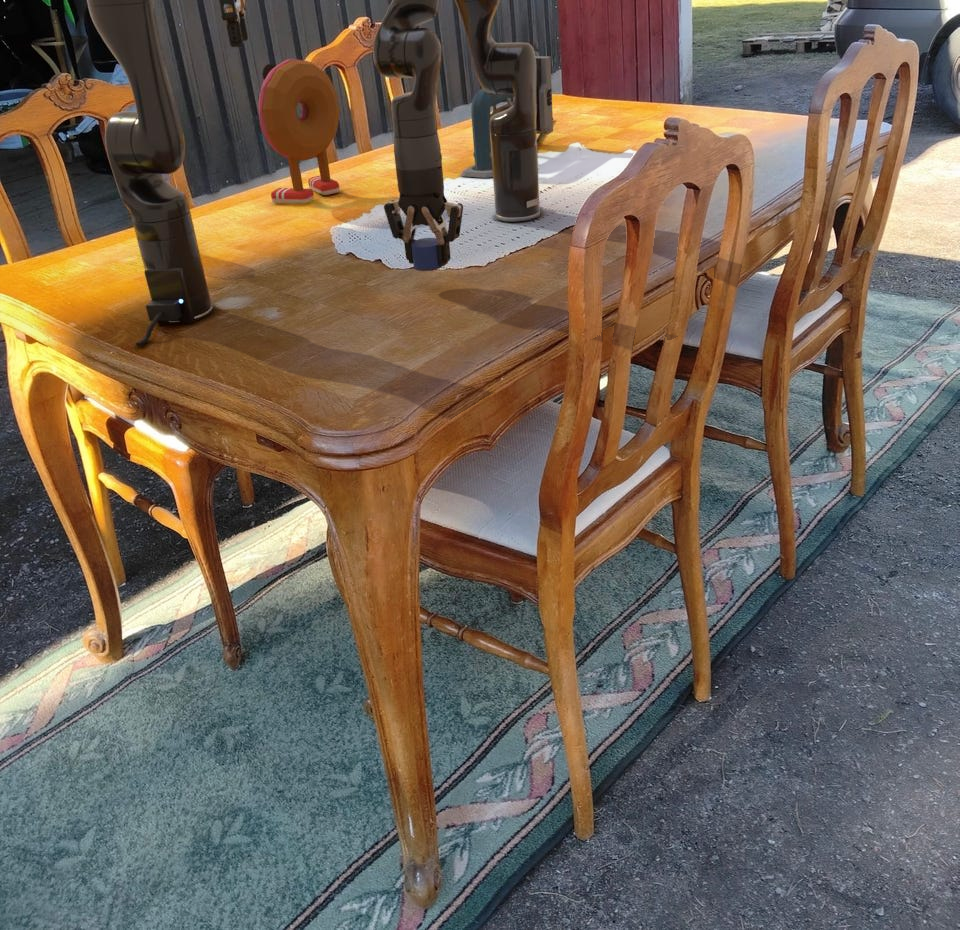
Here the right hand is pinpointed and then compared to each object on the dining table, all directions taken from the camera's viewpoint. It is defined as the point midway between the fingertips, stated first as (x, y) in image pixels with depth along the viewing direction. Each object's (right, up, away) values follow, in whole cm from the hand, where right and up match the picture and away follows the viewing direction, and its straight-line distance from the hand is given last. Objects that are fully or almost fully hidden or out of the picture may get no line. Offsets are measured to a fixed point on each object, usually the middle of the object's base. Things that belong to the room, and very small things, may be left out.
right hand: (428, 263), depth 165 cm
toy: (-31, +28, +61) cm, 74 cm away
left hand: (-34, +41, +8) cm, 54 cm away
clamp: (+16, +42, +78) cm, 90 cm away
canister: (0, 0, 0) cm, 1 cm away
